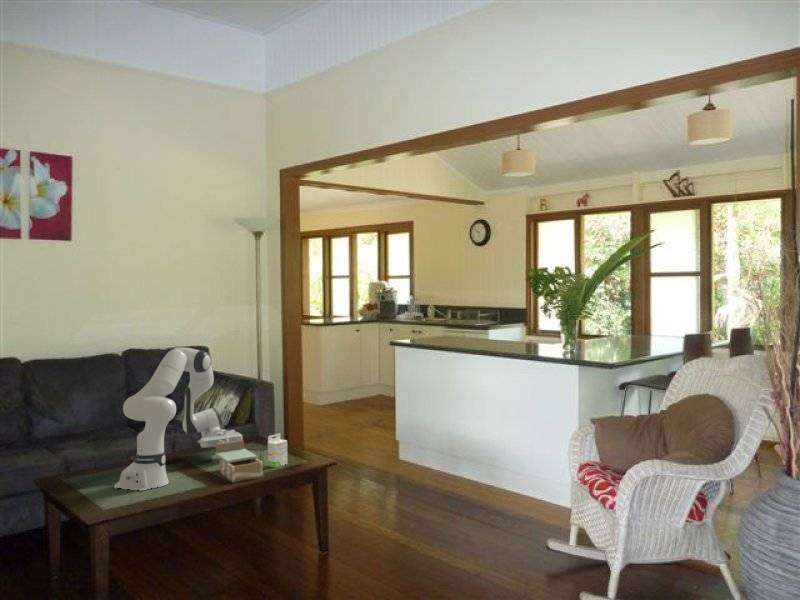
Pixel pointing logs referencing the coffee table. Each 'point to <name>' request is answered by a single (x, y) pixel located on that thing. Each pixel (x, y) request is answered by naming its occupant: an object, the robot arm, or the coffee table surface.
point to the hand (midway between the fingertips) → (226, 443)
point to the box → (242, 470)
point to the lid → (233, 451)
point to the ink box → (277, 451)
